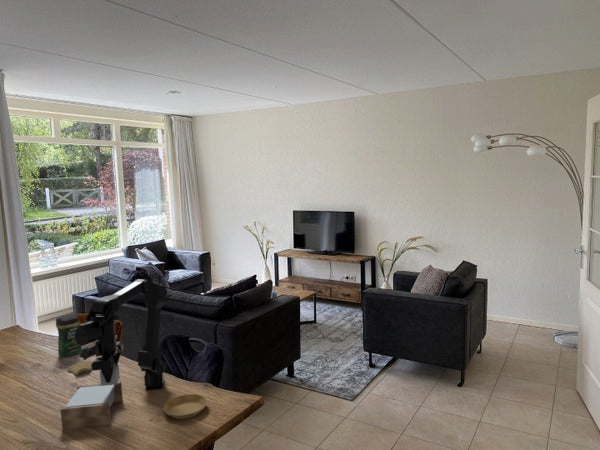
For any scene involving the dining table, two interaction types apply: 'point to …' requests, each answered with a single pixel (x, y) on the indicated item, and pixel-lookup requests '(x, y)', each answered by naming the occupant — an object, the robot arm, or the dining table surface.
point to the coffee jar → (67, 335)
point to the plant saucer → (185, 406)
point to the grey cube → (114, 377)
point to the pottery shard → (80, 367)
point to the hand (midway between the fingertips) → (110, 379)
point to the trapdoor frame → (89, 412)
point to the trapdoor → (93, 396)
